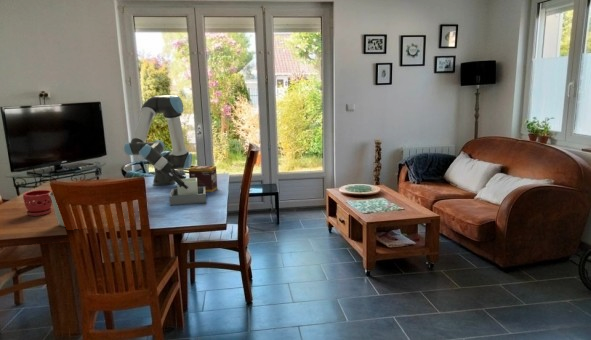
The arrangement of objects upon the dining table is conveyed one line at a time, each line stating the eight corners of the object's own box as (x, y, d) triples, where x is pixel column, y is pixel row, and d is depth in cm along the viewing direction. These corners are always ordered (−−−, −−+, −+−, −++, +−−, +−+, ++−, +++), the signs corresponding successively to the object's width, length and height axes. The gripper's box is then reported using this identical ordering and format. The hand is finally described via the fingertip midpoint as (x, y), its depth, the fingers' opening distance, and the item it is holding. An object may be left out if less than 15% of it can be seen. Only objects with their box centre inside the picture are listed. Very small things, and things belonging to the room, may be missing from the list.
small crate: (179, 197, 238) (178, 178, 236) (198, 196, 241) (196, 177, 239) (178, 201, 228) (177, 182, 226) (197, 200, 230) (196, 181, 228)
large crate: (172, 197, 242) (172, 188, 241) (205, 195, 246) (205, 186, 245) (170, 205, 223) (169, 196, 222) (206, 203, 227) (205, 193, 226)
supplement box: (212, 192, 254) (210, 168, 251) (189, 191, 256) (188, 168, 254) (217, 188, 264) (216, 165, 261) (196, 188, 266) (194, 165, 264)
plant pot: (22, 218, 205) (18, 196, 202) (31, 211, 217) (28, 190, 215) (50, 215, 208) (47, 194, 206) (57, 209, 221) (54, 188, 218)
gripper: (161, 167, 239) (188, 189, 246) (156, 174, 216) (187, 198, 222) (169, 158, 240) (196, 180, 246) (166, 164, 216) (196, 189, 222)
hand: (192, 189), depth 234 cm, fingers open, 12 cm apart
